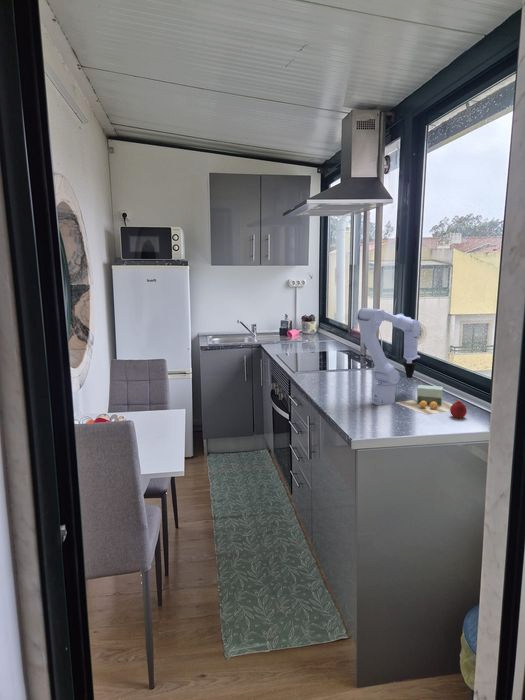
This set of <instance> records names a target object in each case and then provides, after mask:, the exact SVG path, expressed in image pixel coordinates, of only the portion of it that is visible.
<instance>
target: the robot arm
mask: <svg viewBox="0 0 525 700" xmlns="http://www.w3.org/2000/svg"><path fill="white" fill-rule="evenodd" d="M355 320H356V321H357V324H358V325H359V328H358V329H359V334H360V336H361V339H362V341H363V343H364V345H365V348H366V350H367V351H368V354H369V356H370V358H371V360H372V362H373V365H374V367H373V368H372V371H373V373H374V374H373V377H374V379H375V380H376V383H377V384H374V385H372V387H371V401H370V404H374V405H375V406H381V405H386V404H387V405H389V404H394V403H396V402H395V401H396V400H395V399H396V397H395V393H396V385H397V384H398V382H399V381H400V378H401V377H400V372H399V371H398V370H397V369H396V368H395V366H394V365H392V364H391V363H390V362H389V361H388V359H387V356H386V355H385V353H384V350H383V348H382V346H381V343H380V342H379V340H378V337H377V336H376V334H375V333H377V331H378V330H379V328H380V326H381V325H382V323H383V322H384V321H386V322H389V323H391V325H392V326H393V327H394V328H396V329H400V330H401V331H402V332H403V336H404V337H403V358H404V361H402V365H403V367H404V370H405V375H406V378H407V379H412V378H413V376H414V372H415V367H416V365H417V362H418V361H419V359H420V358H421V355H418V344H419V343H418V339H419V338H418V337H419V335H420V331H421V329H422V325H421V323H420V321H419V320H418V319H412V317H410V316H405V314H404V313H398V314H395V315H394V314H392V313H390V312H389V311H386V310H384V309H380V308H370V307H369V308H366V307H361V308H360V309H359V310H358V312H357V315H356V318H355Z"/></svg>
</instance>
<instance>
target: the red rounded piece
mask: <svg viewBox="0 0 525 700" xmlns="http://www.w3.org/2000/svg"><path fill="white" fill-rule="evenodd" d="M452 404H453V405H452V406H451V408H450V411H449V412H450V414H451V416H452V417H454V418H456V419H463V418H464V417H466V415H467V407H466V405H465V404H464V403H463V402H462V401H461V400H460V399H456V401H455V402H454V403H452Z"/></svg>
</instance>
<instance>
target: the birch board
mask: <svg viewBox="0 0 525 700" xmlns="http://www.w3.org/2000/svg"><path fill="white" fill-rule="evenodd" d="M420 402H421V401H418V404H417V398H416V399H410V400H404V401H398V402H397V401H396V402H395V404H396V405H397V404H398V405H400V406H402V407H404V408H407V409H410V410H412V411H415V412H418V413H420V414H421V415H422V414H423V415H425V416H427V415H435V414H441V413H445V412H450V408H451V406H452V405H453V404H454V403H450V402H447V401H445V400H442V406H441V403H438V402H436V403H437V408H435V409H432V408H431V407H430V403H431V402H427V401H426V402H427V406H426V407H425V408H422V407H420Z"/></svg>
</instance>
